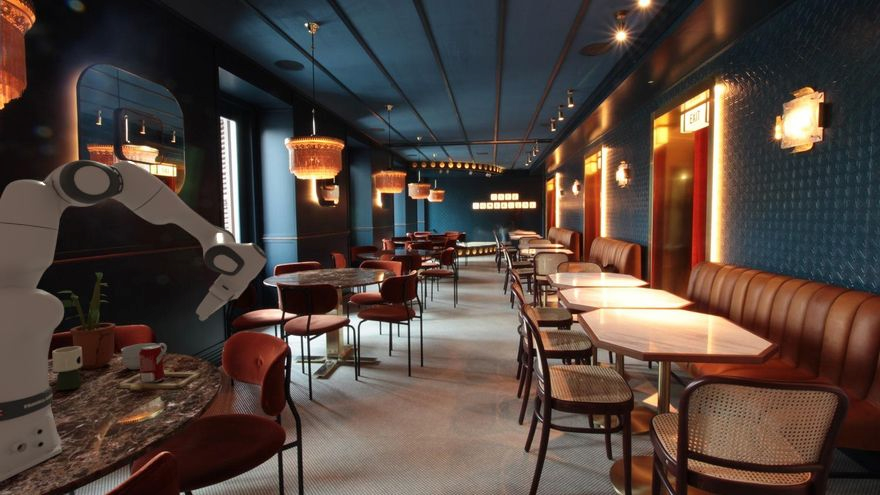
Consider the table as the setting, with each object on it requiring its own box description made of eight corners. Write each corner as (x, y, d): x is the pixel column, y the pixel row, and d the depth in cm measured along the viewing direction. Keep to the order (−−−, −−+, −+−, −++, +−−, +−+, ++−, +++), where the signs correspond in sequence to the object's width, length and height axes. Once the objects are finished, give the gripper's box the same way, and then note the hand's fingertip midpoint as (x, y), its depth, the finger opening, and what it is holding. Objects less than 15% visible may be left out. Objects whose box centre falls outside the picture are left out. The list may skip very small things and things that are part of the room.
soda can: (152, 385, 141) (151, 349, 140) (135, 384, 142) (133, 348, 141) (169, 378, 147) (167, 343, 147) (152, 376, 149) (150, 342, 148)
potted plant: (112, 358, 169) (108, 270, 167) (123, 367, 159) (118, 273, 157) (53, 370, 156) (48, 274, 154) (61, 380, 146) (55, 278, 144)
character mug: (83, 391, 136) (81, 351, 135) (53, 397, 132) (51, 355, 131) (83, 381, 145) (81, 343, 144) (55, 386, 140) (53, 347, 139)
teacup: (120, 374, 152) (119, 351, 151) (124, 365, 161) (123, 344, 160) (166, 367, 159) (165, 346, 158) (167, 359, 168) (167, 339, 168)
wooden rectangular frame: (176, 390, 137) (176, 386, 137) (112, 389, 137) (111, 386, 137) (203, 373, 152) (203, 370, 152) (145, 373, 152) (145, 370, 152)
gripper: (231, 274, 150) (206, 304, 150) (209, 287, 130) (180, 321, 130) (246, 285, 152) (221, 315, 152) (227, 299, 132) (197, 334, 132)
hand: (202, 318), depth 141 cm, fingers closed
